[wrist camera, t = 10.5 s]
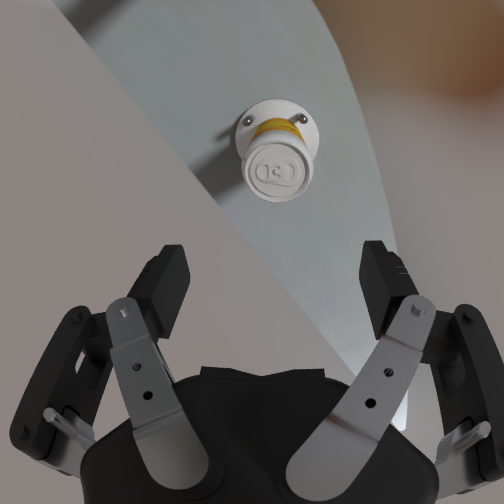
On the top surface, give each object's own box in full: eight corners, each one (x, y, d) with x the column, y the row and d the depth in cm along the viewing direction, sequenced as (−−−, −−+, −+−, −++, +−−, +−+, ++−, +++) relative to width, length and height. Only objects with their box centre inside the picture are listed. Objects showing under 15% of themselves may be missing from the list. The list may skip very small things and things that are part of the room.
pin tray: (232, 102, 33) (224, 105, 28) (316, 98, 31) (323, 100, 27) (240, 177, 39) (234, 192, 34) (318, 175, 37) (324, 189, 33)
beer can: (300, 161, 35) (313, 207, 23) (255, 160, 36) (241, 206, 24) (301, 117, 32) (316, 137, 20) (253, 117, 33) (237, 136, 20)
